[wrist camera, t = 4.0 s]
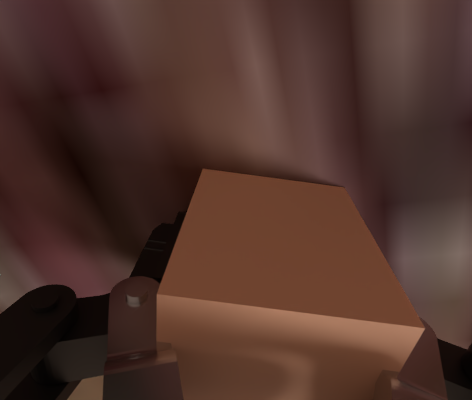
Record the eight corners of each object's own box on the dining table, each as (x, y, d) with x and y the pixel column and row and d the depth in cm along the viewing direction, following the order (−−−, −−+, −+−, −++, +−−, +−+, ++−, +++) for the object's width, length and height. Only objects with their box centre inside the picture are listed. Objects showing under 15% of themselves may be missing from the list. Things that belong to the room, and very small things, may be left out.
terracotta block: (344, 187, 11) (425, 328, 6) (310, 292, 14) (347, 460, 8) (202, 168, 11) (156, 294, 6) (193, 277, 14) (155, 436, 8)
